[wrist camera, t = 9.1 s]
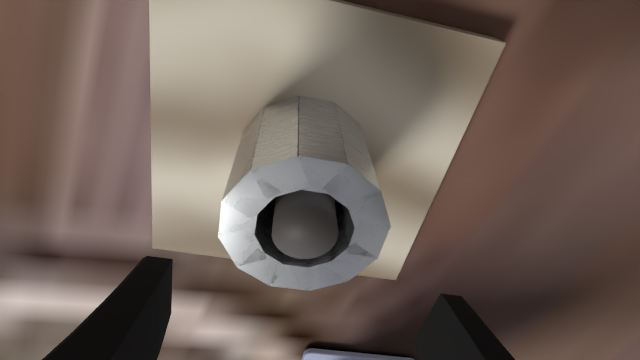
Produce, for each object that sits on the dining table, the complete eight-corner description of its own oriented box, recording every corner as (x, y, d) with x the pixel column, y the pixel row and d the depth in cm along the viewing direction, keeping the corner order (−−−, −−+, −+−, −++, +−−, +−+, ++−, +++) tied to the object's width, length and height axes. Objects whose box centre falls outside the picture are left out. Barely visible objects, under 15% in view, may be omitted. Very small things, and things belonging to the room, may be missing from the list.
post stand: (392, 266, 22) (419, 365, 17) (158, 235, 20) (110, 335, 15) (494, 37, 15) (591, 86, 10) (158, -45, 13) (69, -35, 8)
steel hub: (348, 215, 18) (362, 296, 14) (234, 198, 18) (213, 279, 13) (381, 111, 16) (411, 175, 11) (248, 85, 15) (227, 143, 11)
